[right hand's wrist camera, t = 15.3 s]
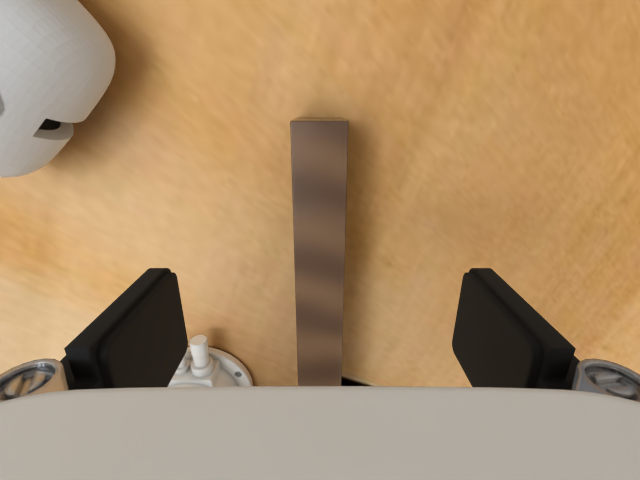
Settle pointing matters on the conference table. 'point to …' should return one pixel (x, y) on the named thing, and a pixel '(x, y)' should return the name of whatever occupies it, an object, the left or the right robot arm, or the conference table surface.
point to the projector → (47, 78)
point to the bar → (319, 245)
